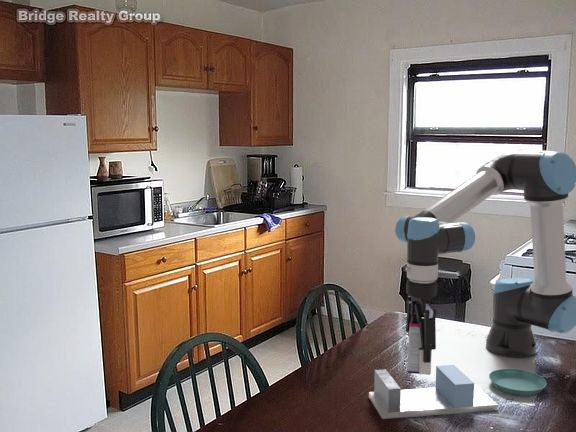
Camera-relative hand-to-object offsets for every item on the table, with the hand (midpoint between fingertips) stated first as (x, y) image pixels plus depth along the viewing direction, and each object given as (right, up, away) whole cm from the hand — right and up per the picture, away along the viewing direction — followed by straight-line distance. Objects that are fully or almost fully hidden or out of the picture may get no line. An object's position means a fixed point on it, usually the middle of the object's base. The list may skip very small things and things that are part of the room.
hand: (419, 367), depth 148 cm
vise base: (+4, -10, +2) cm, 11 cm away
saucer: (+29, -9, +12) cm, 33 cm away
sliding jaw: (+10, -8, +3) cm, 13 cm away
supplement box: (0, -1, 0) cm, 1 cm away
